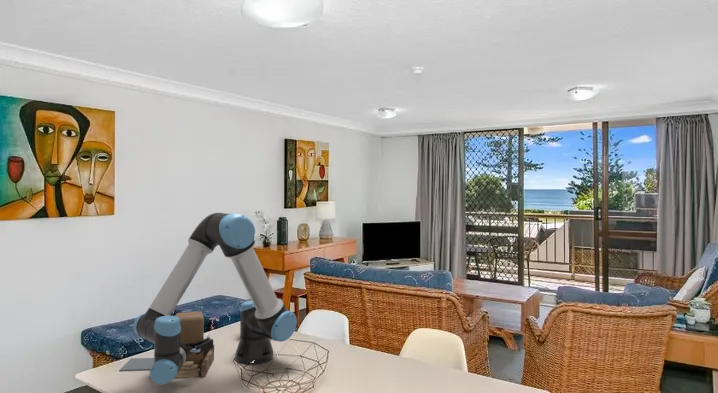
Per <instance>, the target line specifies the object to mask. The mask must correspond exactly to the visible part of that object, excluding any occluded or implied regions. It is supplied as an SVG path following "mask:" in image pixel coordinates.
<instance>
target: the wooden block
mask: <svg viewBox="0 0 718 393" xmlns="http://www.w3.org/2000/svg"><path fill="white" fill-rule="evenodd" d="M174 316H177V317H179V318H180V326H181V333H180V343H183V344H187V343H190V342H191V343H195V342H198V341H201V340H204V337H205V335H204V334H205V332H204V330H205V318H204V315H203V312H202V311H201V310H200V311H188V312H187V311H185V312H178V313H176V314H175V315H174ZM189 346H190V345H189ZM186 361H190V362H194V364H193V365H196V364H198V368H200V370H201V364H202V363H203V352H201V353H200V354H198V355H196V353H195V352H193V353H191V354H189V356H188V358H187V360H186Z"/></svg>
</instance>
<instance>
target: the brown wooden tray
mask: <svg viewBox="0 0 718 393" xmlns="http://www.w3.org/2000/svg"><path fill="white" fill-rule="evenodd" d="M214 361H215V344H213V347H211V348H209V349H207V350H205V351H203V363H202V364H201V369H200V368H198V364H196V365H193V364H194V362H190V361H185V362H184V364H183V365H182V367H181V369H180V370H179V372H178V373H177V375H176V377H175V378H197V377H198V378H199V375H200V374H201V375H200V377H201V378H206V377H207V374H208V372H209V371H210V368H211V366H212V365H213V363H214ZM175 378H174V379H175Z"/></svg>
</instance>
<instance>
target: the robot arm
mask: <svg viewBox="0 0 718 393" xmlns="http://www.w3.org/2000/svg"><path fill="white" fill-rule="evenodd" d="M255 234H256V228H255V225H254V223H253V221H252V219H250V218H249V217H248V216H246V215H243V214H239V213H232V212H231V213H224V212H223V213H222V212H214V213H211V214H208V215H207V216H206V217H205V218H203V219H202V220H201V221H200V222H199V224H198V225H197V226H196V227H195V229H194V230H193V232H192V233H191V235H190V236H189V238H188V239H187V242H188V245H187V247H186V248H185V250H184V252H183V253H182V255H181V256H180V258H179V260H178V261H177V263H176V264H175V266H174V267H173V269H172V270H171V272H170V274H169V275H168V277H167V279H166V280H165V281H164V284H163V285H162V286H161V288H160V290H159V292H158V293H157V294H156V296H155V297H154V299H153V300H152V302H151V304H150V305H149V307H148V309H147V311H146V312H145V313H142V314H140V315H139V316H137V317H136V318H135V319H134V322H133V328H132V329H133V331H134V333H135V334H136V335H138V336H139V337H140V338H141V339H144V340H146V341H149V342H150V343H152V344H154V345H153V346H154V348H153V350H154V351H153V354H154V355H153V358H154V364H153V365H152V368H151V370H149V371H150V372H149V376H150V379H151V380H152V382H153V383H155V384H157V385H167V384H169V383H170V382H172V381H173V380H174V379H175V377H176V375H177V373H178V372H179V370H180V369H181V367H182V365H183V364H184V362H185V361H186V360H187V358H188V356H189V354H191V353H193V352H195V353H196V355H198V354H200V353H201V352H203V351H205V350H207V349H209V348H211V347H213V345H214V339H212V338H211V337H210V333H208V332H207V333H206V334H205V335H204V340H201V341H198V342H195V343H191V342H190V343H187V344H183V343H180V333H181V326H180V318H179V317H177V316H175V315H172V314H173V312H174V310H175V309H176V307H178V306H177V305H178V304H179V302H180V301H181V300H182V298H183V296H184V294H185V293H186V290H187V289H188V287H189V286H190V284H191V283H192V281H193V279H194V278H195V276H196V274H197V273H198V271H199V270H200V268H201V266H202V265H203V262H204V261H205V259H206V258H207V257H208V255H209V254H212V253H213V252H214V251H215V248H216V247H217V246H219V248H220V250H221V251H222V253H223V255H224V257H225V258H229V259H230V260H231V261H232V263H233V266H234V267H235V269H236V272H237V274H238V276H239V277H240V280H241V281H242V284H243V285H244V287H245V289H246V291H247V294H248V296H249V299H251V300H252V301H247V302H245V301H244V302H242V304H241V306H240V317H241V318H240V324H239V327H240V329H239V331H240V332H239V333H240V335H239V336H240V337H239V342H238V345H237V347H236V350H235V354H234V357H235V358H234V360H235V361H236V362H238V363H241V364H244V365H245V364H246V365H249V364H248V363H250V362H252V361H253V360H255V361H254V364H253V365H255V364H262V363H267V362H269V361H271V360H272V359H273V358H274V348H273V345H272V342H271V340H272V341H275V342H286V341H287V340H289V339H290V338H291V337H292V336H293V335H294V333H295V331H296V327H297V326H298V325H297V323H298V320H297V316H296V314H295V313H294V312H292V310H288V309H287V307H286V305H285V303H284V301H283V299H282V298H278V297H277V295H276V293H275V291H274V289H273V287H272V285H271V283H270V280H269V279H268V276H267V275H266V272H265V270H264V267H263V265H262V263H261V261H260V259H259V257H258V255H257V253H256V251H255V249H254V247H255V244H256V240H255ZM189 345H190V346H189Z"/></svg>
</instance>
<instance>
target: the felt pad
mask: <svg viewBox="0 0 718 393" xmlns="http://www.w3.org/2000/svg"><path fill="white" fill-rule="evenodd" d="M153 364H154V357H138V358H130V359H129V360H128V361H127V362H126V363H125V364H124V365H123V366H122V367H121V368H119V372H133V371H134V372H136V371H137V372H139V371H140V372H141V371H150V370H151V368H152V365H153Z"/></svg>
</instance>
